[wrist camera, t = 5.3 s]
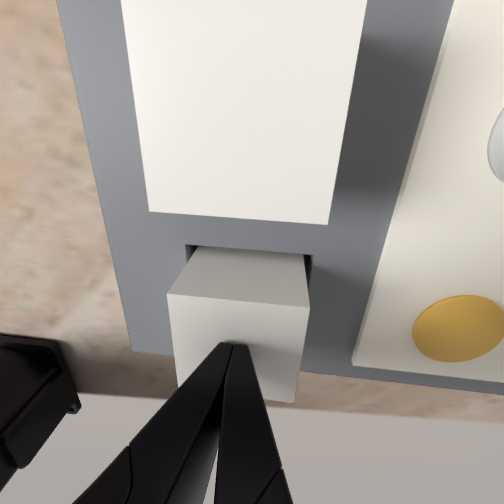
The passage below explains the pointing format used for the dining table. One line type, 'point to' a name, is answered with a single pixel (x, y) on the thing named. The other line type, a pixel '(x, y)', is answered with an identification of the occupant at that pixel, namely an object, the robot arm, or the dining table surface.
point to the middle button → (242, 103)
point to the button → (242, 313)
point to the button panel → (343, 199)
